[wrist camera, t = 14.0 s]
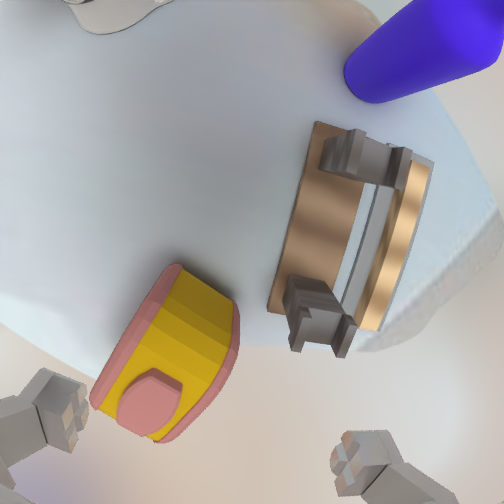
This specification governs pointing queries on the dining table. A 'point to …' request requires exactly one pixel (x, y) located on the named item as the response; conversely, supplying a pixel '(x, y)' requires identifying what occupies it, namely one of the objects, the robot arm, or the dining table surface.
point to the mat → (372, 241)
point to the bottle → (426, 48)
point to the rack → (328, 231)
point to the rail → (392, 248)
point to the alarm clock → (170, 358)
